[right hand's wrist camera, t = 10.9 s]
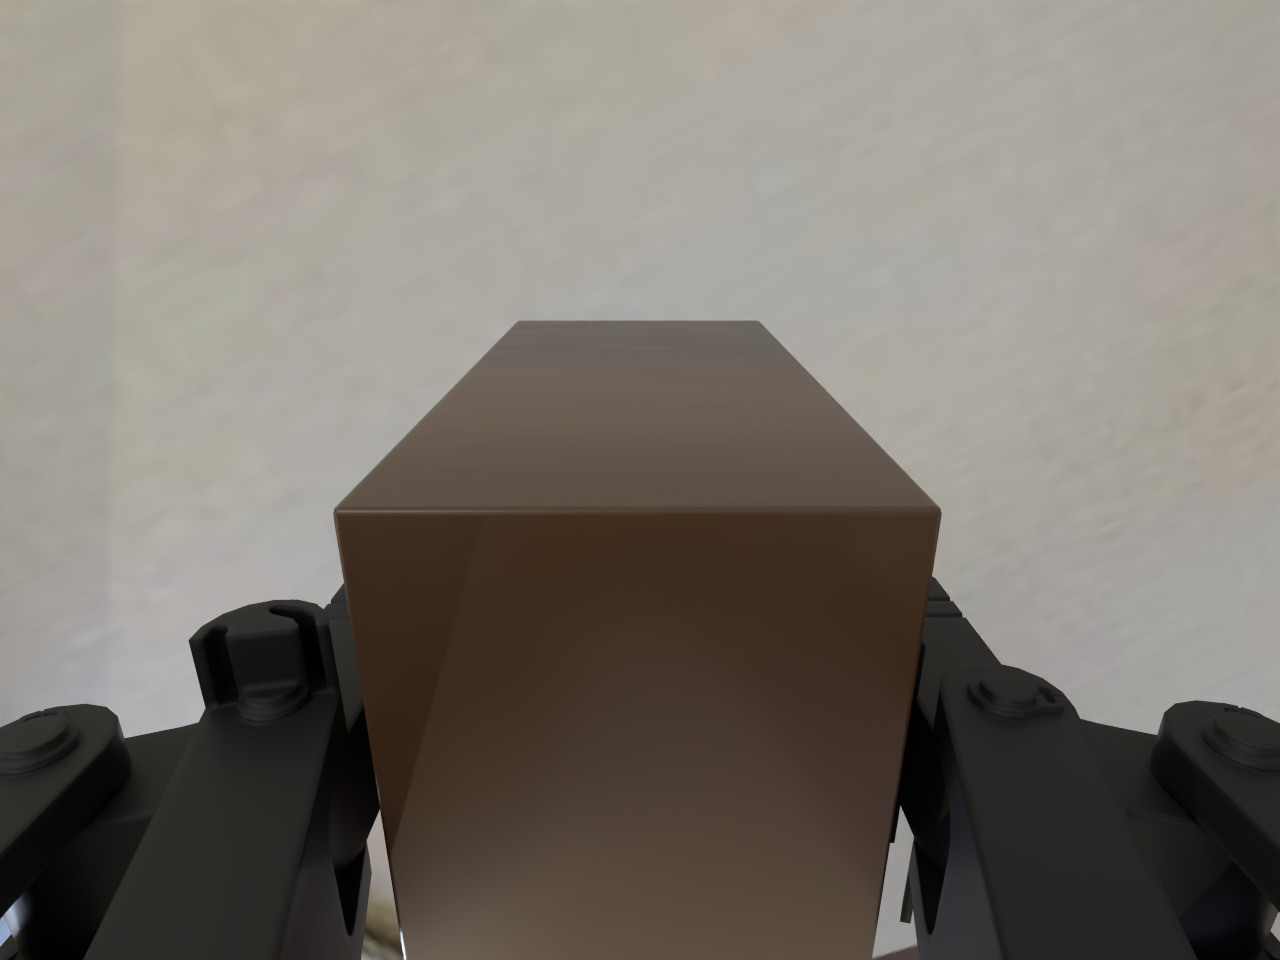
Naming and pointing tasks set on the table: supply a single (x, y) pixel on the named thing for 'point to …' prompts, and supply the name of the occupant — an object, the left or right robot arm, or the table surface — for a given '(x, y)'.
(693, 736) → the bar
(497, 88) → the table surface
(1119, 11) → the table surface
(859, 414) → the table surface
